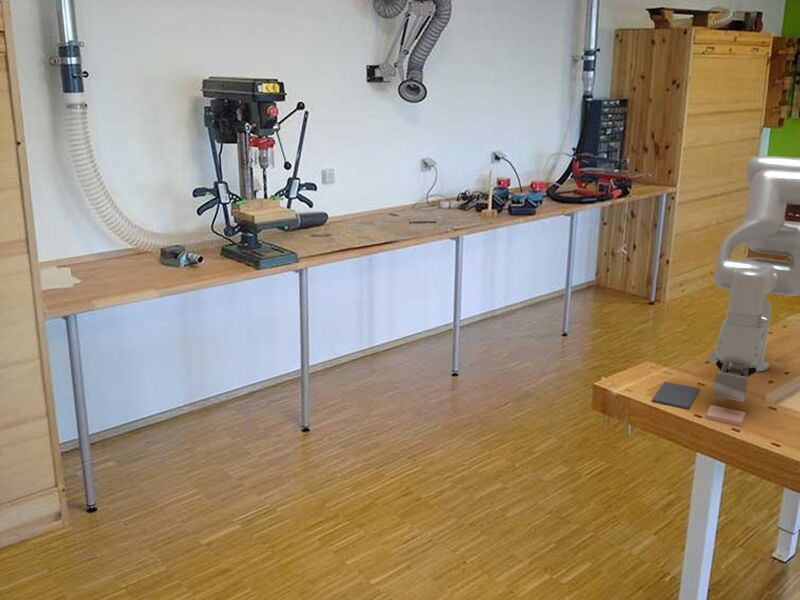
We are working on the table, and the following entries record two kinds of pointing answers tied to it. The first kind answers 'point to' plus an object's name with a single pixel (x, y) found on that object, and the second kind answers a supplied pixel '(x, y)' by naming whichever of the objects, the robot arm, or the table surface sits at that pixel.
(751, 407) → the table surface
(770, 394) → the table surface
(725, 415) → the tile
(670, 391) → the mat
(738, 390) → the scraper
